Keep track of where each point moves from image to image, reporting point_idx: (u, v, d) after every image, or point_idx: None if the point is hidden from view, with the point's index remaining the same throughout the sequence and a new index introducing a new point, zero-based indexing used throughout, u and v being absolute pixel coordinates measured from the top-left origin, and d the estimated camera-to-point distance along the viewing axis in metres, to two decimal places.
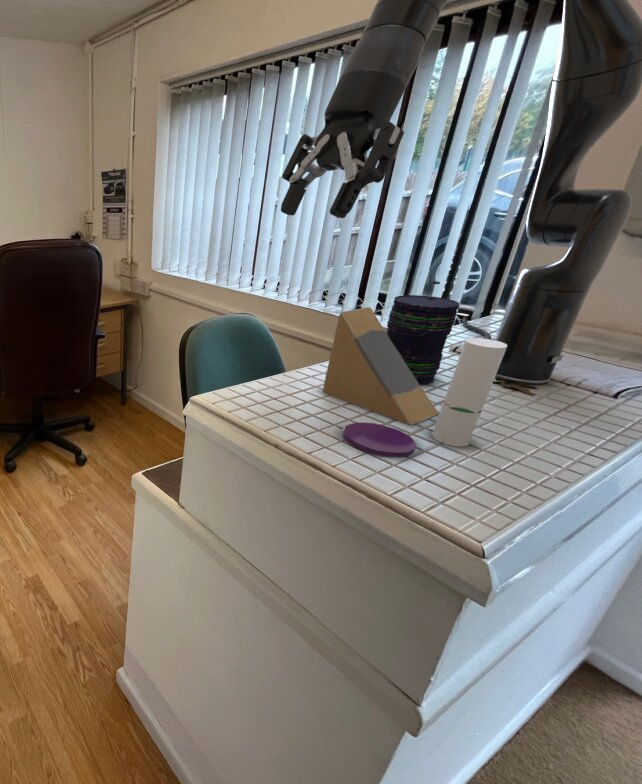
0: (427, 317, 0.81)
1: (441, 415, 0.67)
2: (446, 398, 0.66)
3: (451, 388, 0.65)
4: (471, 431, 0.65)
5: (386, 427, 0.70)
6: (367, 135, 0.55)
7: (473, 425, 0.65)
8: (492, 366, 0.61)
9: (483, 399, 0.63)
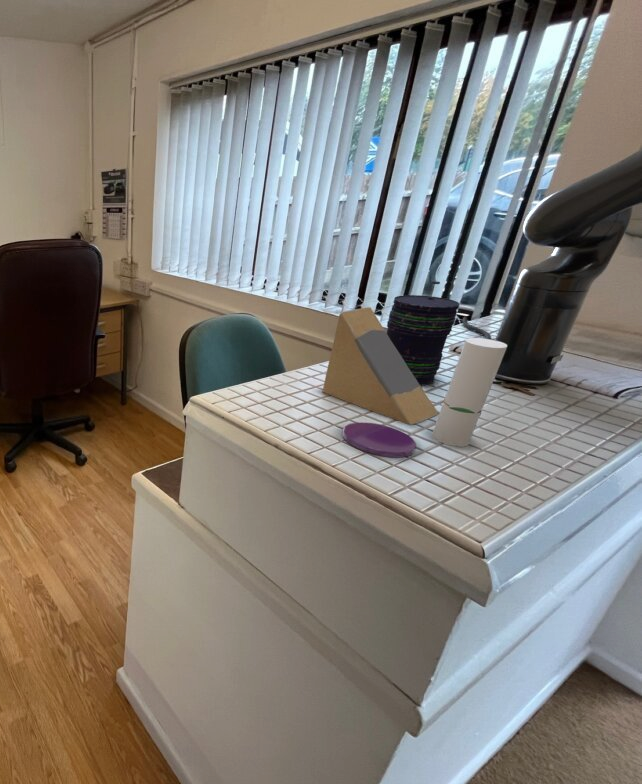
0: (427, 317, 0.81)
1: (441, 415, 0.67)
2: (446, 398, 0.66)
3: (451, 388, 0.65)
4: (471, 431, 0.65)
5: (386, 427, 0.70)
6: None
7: (473, 425, 0.65)
8: (492, 366, 0.61)
9: (483, 399, 0.63)
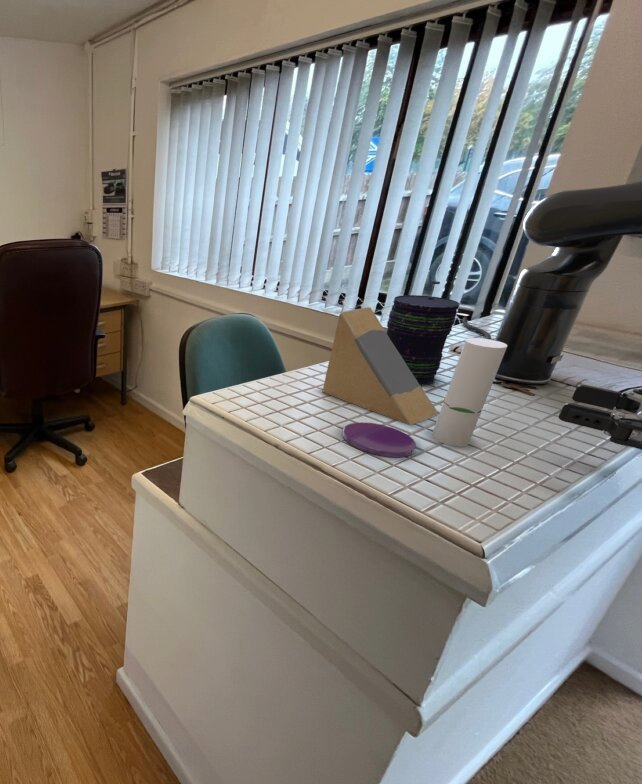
0: (427, 317, 0.81)
1: (441, 415, 0.67)
2: (446, 398, 0.66)
3: (451, 388, 0.65)
4: (471, 431, 0.65)
5: (386, 427, 0.70)
6: None
7: (473, 425, 0.65)
8: (492, 366, 0.61)
9: (483, 399, 0.63)
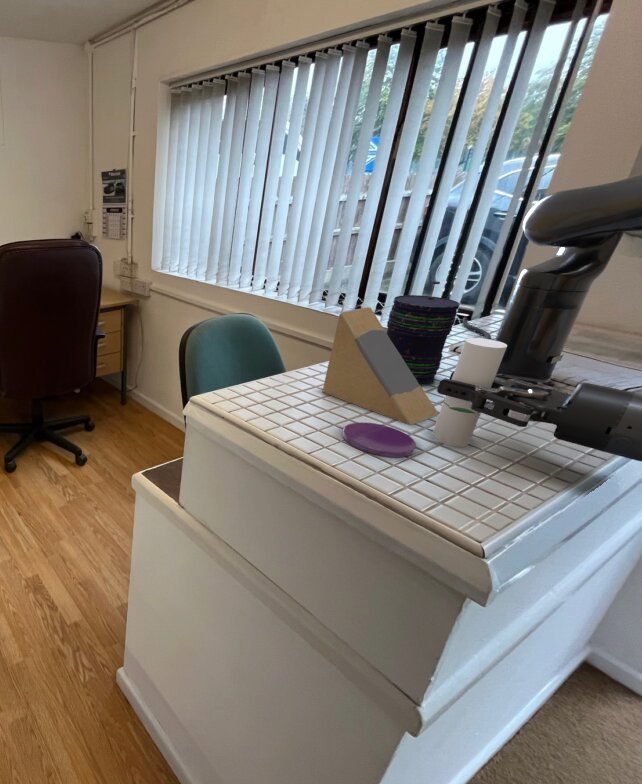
0: (427, 317, 0.81)
1: (441, 415, 0.67)
2: (446, 398, 0.66)
3: None
4: (471, 431, 0.65)
5: (386, 427, 0.70)
6: None
7: (473, 425, 0.65)
8: (492, 366, 0.61)
9: None
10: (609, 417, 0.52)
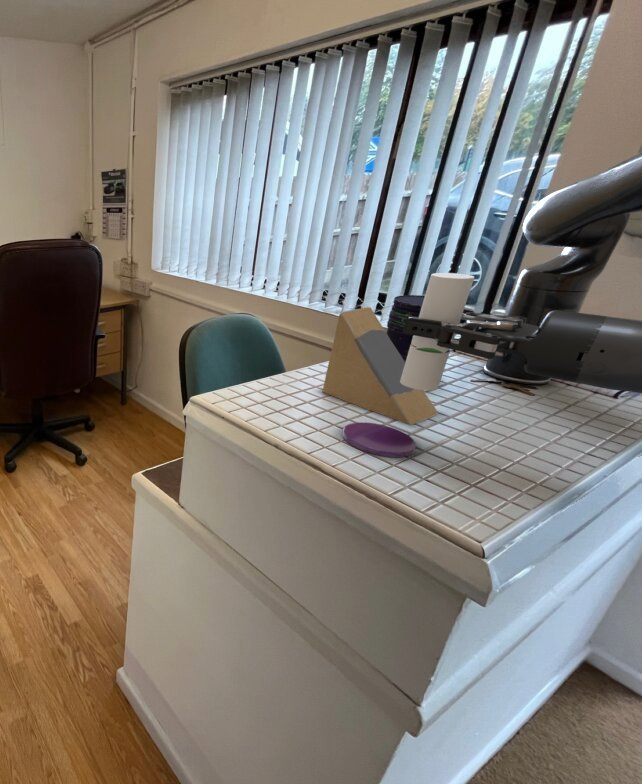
0: None
1: (408, 358, 0.63)
2: (413, 339, 0.62)
3: None
4: (440, 373, 0.61)
5: (386, 427, 0.70)
6: None
7: (441, 366, 0.61)
8: (459, 300, 0.57)
9: None
10: (580, 342, 0.48)
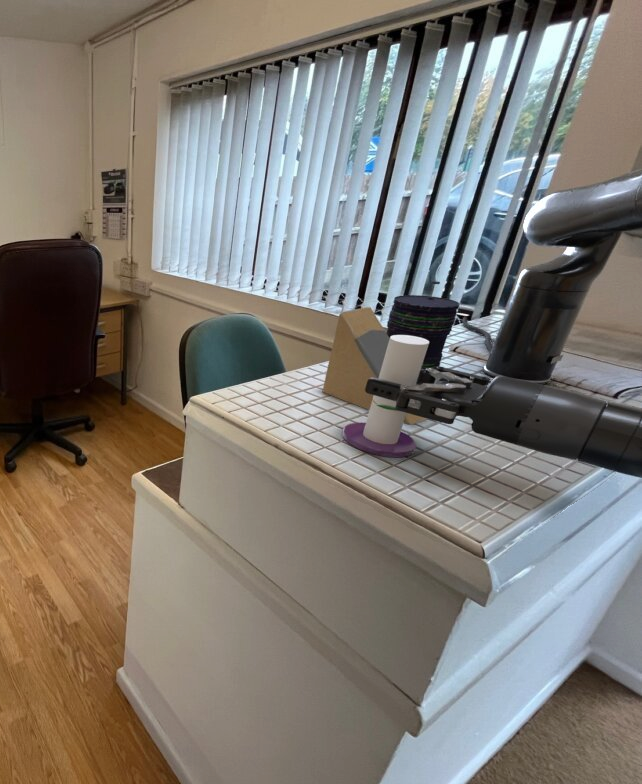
0: (427, 317, 0.81)
1: (370, 413, 0.67)
2: (374, 395, 0.66)
3: None
4: (398, 429, 0.65)
5: None
6: None
7: (400, 423, 0.64)
8: (414, 363, 0.61)
9: None
10: (519, 410, 0.52)
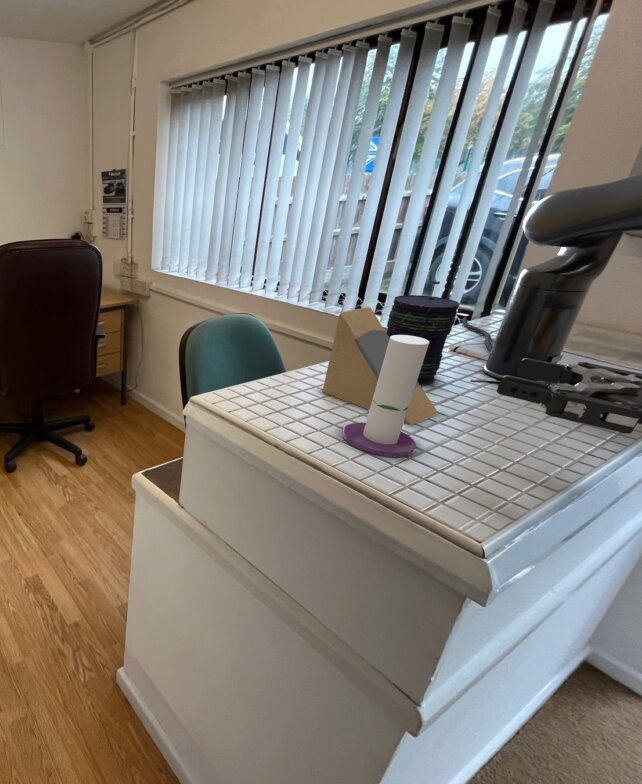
0: (427, 317, 0.81)
1: (370, 413, 0.67)
2: (374, 395, 0.66)
3: (378, 385, 0.65)
4: (398, 429, 0.65)
5: None
6: None
7: (400, 423, 0.64)
8: (414, 363, 0.61)
9: (408, 396, 0.63)
10: None
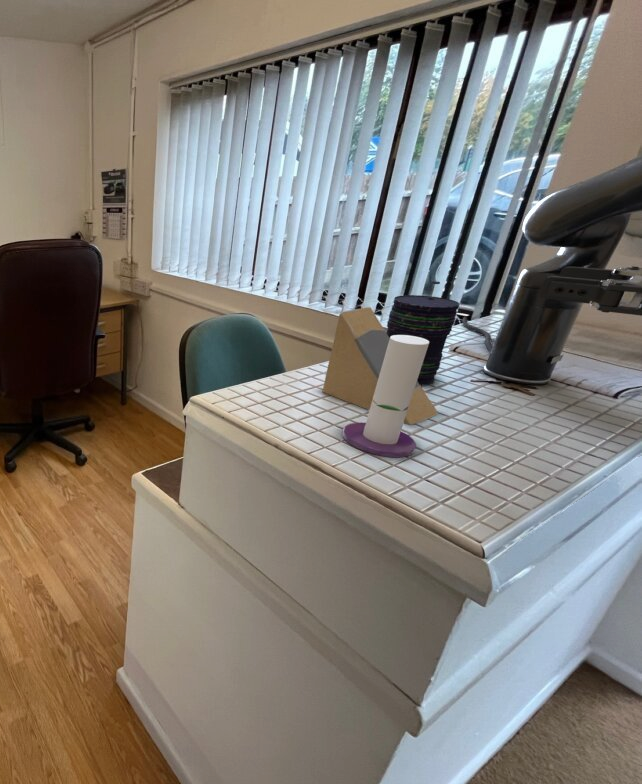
0: (427, 317, 0.81)
1: (370, 413, 0.67)
2: (374, 395, 0.66)
3: (378, 385, 0.65)
4: (398, 429, 0.65)
5: None
6: None
7: (400, 423, 0.64)
8: (414, 363, 0.61)
9: (408, 396, 0.63)
10: None
